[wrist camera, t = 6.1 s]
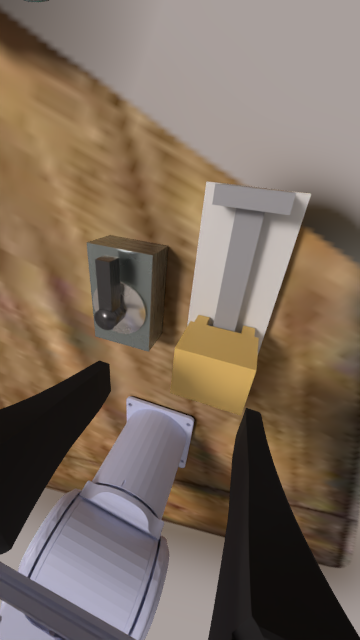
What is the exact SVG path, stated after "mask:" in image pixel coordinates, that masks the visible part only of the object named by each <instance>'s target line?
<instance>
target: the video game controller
mask: <svg viewBox="0 0 360 640" xmlns="http://www.w3.org/2000/svg"><path fill="white" fill-rule="evenodd" d="M25 1H28V2H43V1H49V0H25Z"/></svg>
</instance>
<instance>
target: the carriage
mask: <svg viewBox="0 0 360 640" xmlns="http://www.w3.org/2000/svg"><path fill="white" fill-rule="evenodd" d="M208 323H209V317H205V316H201V315H198V316H197V318H196V320H195V322H192V321H190V323H189V325H188V326H187V328H186V330H185V331H184V333H183V335H182V337H181V338H180V340H179V342H178V344H177V345H176V347H175V353H174V362H173V371H172V380H171V389H170V393H171V394H175V395H178V396H181V397H184V398H187V399H190V400H193V401H196V402H200V403H203V404H206V405H209V406H212V407H215V408H218V409H222V410H225V411H228V412H231V413H234V414H237V415H240V416H241V414H242V411H243V408H244V406H245V403H246V400H247V397H248V394H249V391H250V388H251V385H252V382H253V379H254V376H255V373H256V370H257V356H258V341H259V338H257V337H254V336H255V328H251V327H247V326H243V328H242V331H241V333H237V332H233V331H229V330H225V329H221V328H217V327H213V326H209V325H208Z"/></svg>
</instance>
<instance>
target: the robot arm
mask: <svg viewBox="0 0 360 640" xmlns="http://www.w3.org/2000/svg"><path fill="white" fill-rule="evenodd" d="M110 392H111V386H110V367H109V364H108V363H105V362H102V361H98V362H96V363H94V364H92V365H91V366H89V367H87V368H85V369H84V370H82V371H80V372H78V373H77V374H75V375H73V376H71V377H69V378H68V379H66V380H64V381H62V382H60V383H59V384H57V385H55V386H53V387H51V388H49V389H47V390H45V391H43V392H41V393H39V394H37V395H35V396H32V397H30V398H28V399H26V400H23V401H21V402H18V403H16V404H14V405H11V406H8V407H6V408H3V409H0V554H3V553H6V552H7V551H9V550H10V549H11V548H12V546H13V544H14V542H15V541H16V539H17V537H18V535H19V533H20V531H21V529H22V527H23V526H24V524H25V522H26V520H27V518H28V517H29V515H30V513H31V511H32V509H33V508H34V506H35V504H36V502H37V501H38V499H39V497H40V496H41V494H42V492H43V490H44V489H45V487H46V485H47V484H48V482H49V480H50V479H51V477H52V476H53V474H54V472H55V471H56V469H57V468H58V466H59V464H60V463H61V461H62V460H63V458H64V457H65V455H66V453H67V452H68V451H69V449H70V448H71V446H72V445H73V444H74V442H75V441H76V440H77V439H78V437H79V436H80V435H81V433H82V432H83V431H84V430H85V428H86V427H87V426H88V424H89V423H90V422H91V420H92V419H93V418H94V417H95V415H96V414H97V413H98V411H99V410H100V409H101V407H102V405H103V404H104V402H105V400H106V399H107V397H108V395H109V393H110ZM193 425H194V418H193V417H191V416H188V415H185V414H182V413H179V412H176V411H173V410H170V409H167V408H164V407H161V406H158V405H155V404H152V403H149V402H146V401H143V400H140V399H137V398H134V397H131V396H130V397H128V398H127V423H126V425H125V427H124V429H123V430H122V432H121V434H120V435H119V437H118V439H117V440H116V442H115V444H114V445H113V447H112V449H111V450H110V452H109V454H108V455H107V457H106V459H105V460H104V462H103V464H102V465H101V467H100V469H99V470H98V472H97V474H96V475H95V477H94V479H93V480H92V482H91V481H87V483H86V485H85V486H84V488H83V490H82V491H81V490H79V489H73V490H72V491H70V492H68V493H66V494H64V495H63V496H62V497H61V498H60V500H59V501H58V502H57V503H56V504H55V506H54V507H53V508H52V510H51V511H50V512H49V514H48V516H47V517H46V518H45V520H44V521H43V523H42V524H41V526H40V528H39V529H38V531H37V532H36V534H35V536H34V537H33V539H32V541H31V543H30V545H29V546H28V548H27V550H26V552H25V554H24V556H23V558H22V561H21V563H20V565H19V569H18V572H17V571H15V570H14V569H12V568H10V567H9V566H7V565H5V564H3V563H2V562H0V599H1V600H2V602H1V609H0V640H145V638H146V636H147V634H148V631H149V629H150V626H151V624H152V621H153V618H154V615H155V613H156V610H157V606H158V603H159V600H160V597H161V593H162V589H163V585H164V582H165V578H166V573H167V568H168V562H169V549H168V545H167V540H166V538H165V537H163V536H161V532H162V529H163V526H164V522H163V521H161V519H162V515H163V512H164V509H165V506H166V503H167V500H168V497H169V494H170V491H171V488H172V485H173V481H174V478H175V475H176V472H177V469H178V467H181V468H184V467H185V465H186V460H187V455H188V450H189V445H190V440H191V435H192V430H193ZM208 640H360V637H359V636H358V634H357V632H356V631H355V629H354V627H353V626H352V624H351V622H350V621H349V619H348V617H347V615H346V614H345V612H344V610H343V609H342V607H341V605H340V604H339V602H338V600H337V598H336V597H335V595H334V593H333V591H332V589H331V588H330V586H329V584H328V582H327V580H326V578H325V577H324V575H323V573H322V571H321V569H320V567H319V565H318V564H317V562H316V560H315V558H314V556H313V554H312V552H311V550H310V548H309V546H308V544H307V542H306V540H305V538H304V536H303V534H302V532H301V530H300V528H299V525H298V523H297V521H296V519H295V517H294V514H293V512H292V510H291V508H290V505H289V503H288V500H287V498H286V496H285V493H284V490H283V488H282V485H281V483H280V480H279V477H278V474H277V472H276V469H275V466H274V463H273V459H272V456H271V453H270V450H269V446H268V443H267V439H266V435H265V431H264V427H263V422H262V416H261V414H260V412H257V411H254V410H251V409H248V408H246V410H245V413H244V416H243V418H242V421H241V424H240V426H239V429H238V432H237V434H236V439H235V445H234V451H233V457H232V471H231V485H230V500H229V513H228V522H227V529H226V536H225V543H224V549H223V555H222V561H221V568H220V574H219V580H218V586H217V592H216V598H215V604H214V610H213V615H212V621H211V627H210V632H209V638H208Z"/></svg>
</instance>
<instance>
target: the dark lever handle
mask: <svg viewBox="0 0 360 640" xmlns="http://www.w3.org/2000/svg"><path fill="white" fill-rule="evenodd" d="M95 265H96V278H97V290H98V303H99V310H98V311H97V312H96V313H95V315H94V319H95V322H96V324H97V325H98V326H99V327H100V328H102V329H104V330H111V329H113V328H114V327H115V326H116V325H117V324H118V323H119V322H120V321H121V320H123V319H124V318H125V316H126V311H125V308H124V306H123V305H122V304H121V299H120V265H119V257H115V256H110V255H104V256H101V257H99V258H97V259H95Z"/></svg>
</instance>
